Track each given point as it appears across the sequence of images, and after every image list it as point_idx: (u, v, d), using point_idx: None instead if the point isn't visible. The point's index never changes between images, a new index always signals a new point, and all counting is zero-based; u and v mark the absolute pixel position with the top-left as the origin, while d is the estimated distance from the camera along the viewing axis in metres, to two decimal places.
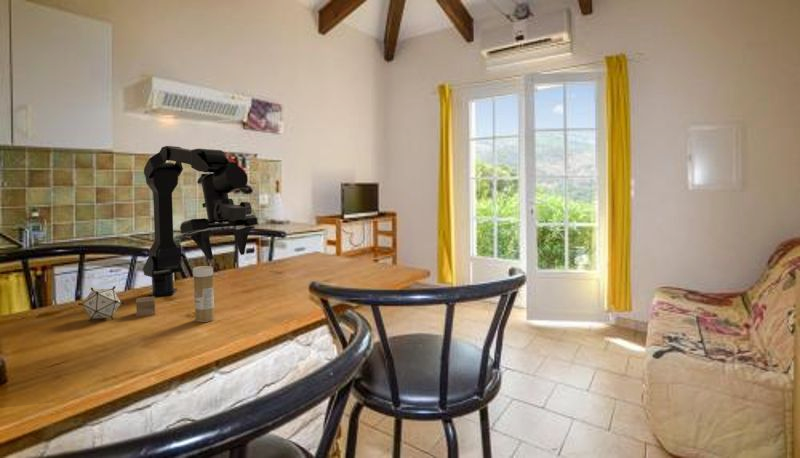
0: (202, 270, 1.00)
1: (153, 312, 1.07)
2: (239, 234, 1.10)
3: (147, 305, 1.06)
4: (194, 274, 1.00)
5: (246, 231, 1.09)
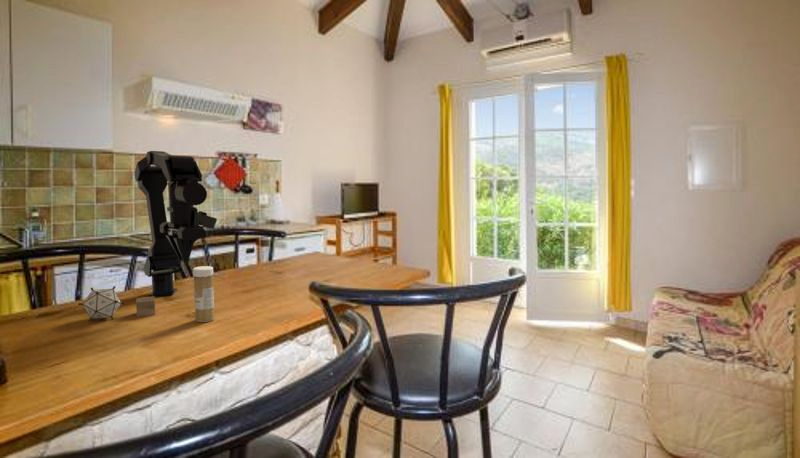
0: (202, 270, 1.00)
1: (153, 312, 1.07)
2: None
3: (147, 305, 1.06)
4: (194, 274, 1.00)
5: None
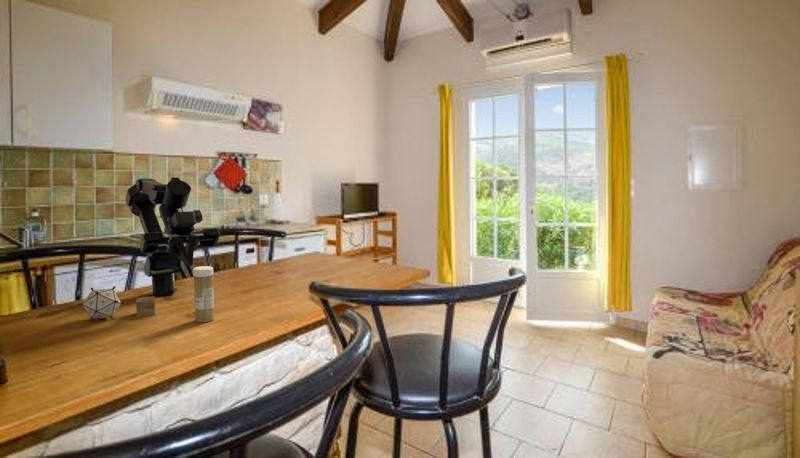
0: (202, 270, 1.00)
1: (153, 312, 1.07)
2: (186, 249, 1.10)
3: (147, 305, 1.06)
4: (194, 274, 1.00)
5: (190, 242, 1.10)
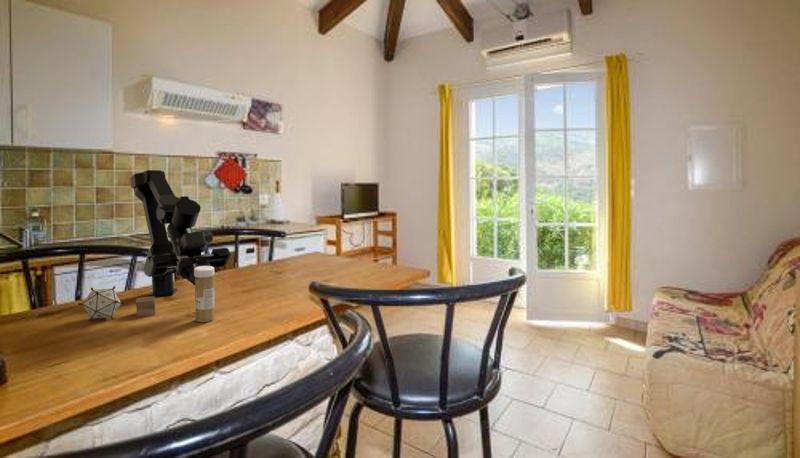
0: (203, 271, 0.99)
1: (153, 312, 1.07)
2: None
3: (147, 305, 1.06)
4: (195, 274, 0.99)
5: (200, 263, 1.06)
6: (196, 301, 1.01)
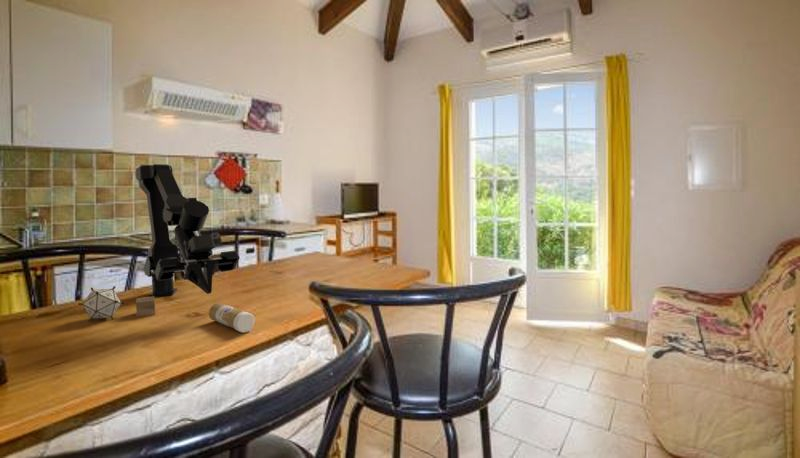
0: (237, 327, 0.93)
1: (153, 312, 1.07)
2: (204, 274, 1.03)
3: (147, 305, 1.06)
4: (236, 317, 0.94)
5: (209, 267, 1.02)
6: (221, 311, 0.99)
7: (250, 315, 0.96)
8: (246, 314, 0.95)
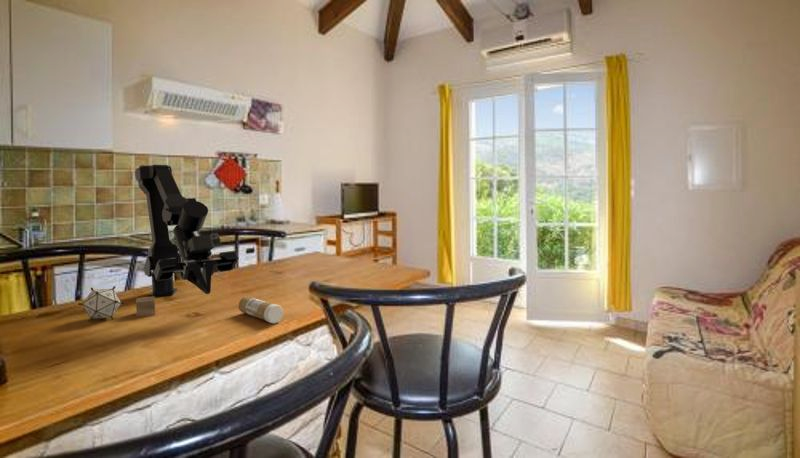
0: (282, 314, 1.03)
1: (153, 312, 1.07)
2: (203, 274, 1.03)
3: (147, 305, 1.06)
4: None
5: (208, 267, 1.02)
6: None
7: (270, 320, 1.00)
8: (272, 322, 1.01)
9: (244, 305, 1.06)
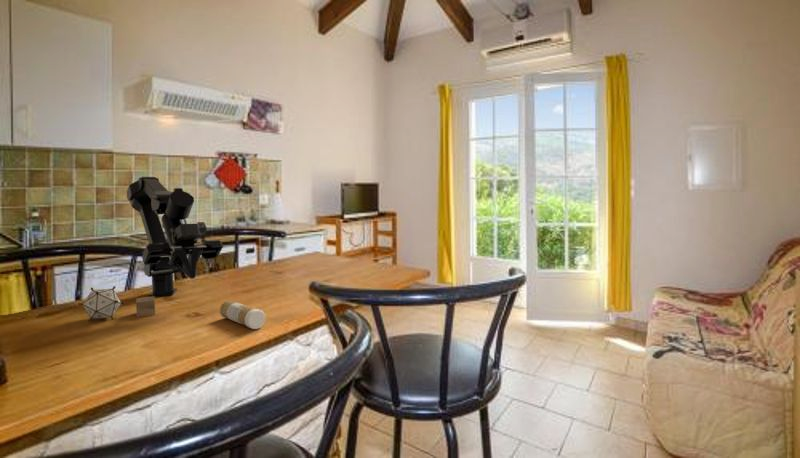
0: (253, 312, 0.96)
1: (153, 312, 1.07)
2: (189, 260, 1.10)
3: (147, 305, 1.06)
4: None
5: (193, 254, 1.09)
6: None
7: (264, 320, 0.99)
8: (264, 315, 0.99)
9: None
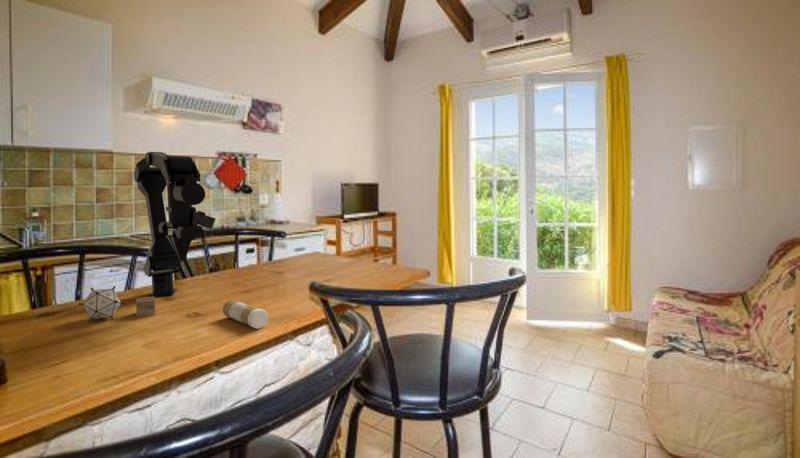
0: (258, 311, 0.97)
1: (153, 312, 1.07)
2: None
3: (147, 305, 1.06)
4: None
5: None
6: None
7: (265, 322, 0.99)
8: (267, 317, 0.99)
9: None
